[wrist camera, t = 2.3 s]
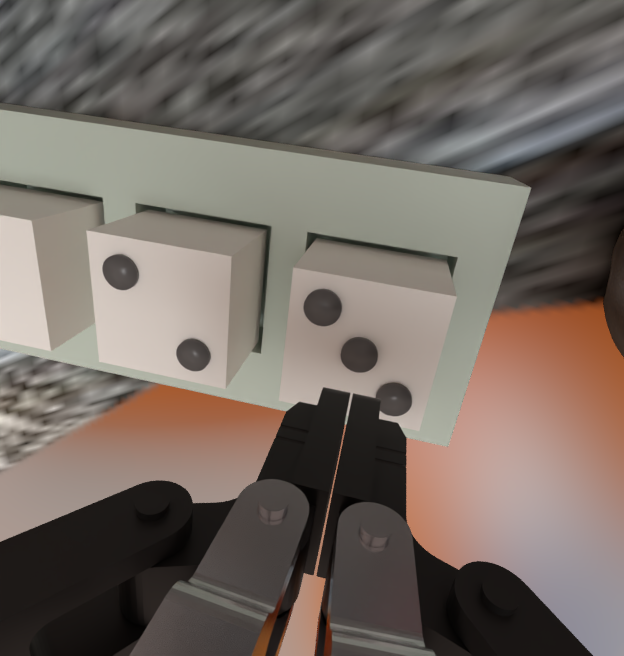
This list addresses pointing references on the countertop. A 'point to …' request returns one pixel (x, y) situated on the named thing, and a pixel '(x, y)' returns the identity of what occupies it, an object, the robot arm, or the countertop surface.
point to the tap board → (279, 225)
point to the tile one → (45, 266)
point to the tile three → (366, 327)
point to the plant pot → (616, 295)
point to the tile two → (177, 294)
